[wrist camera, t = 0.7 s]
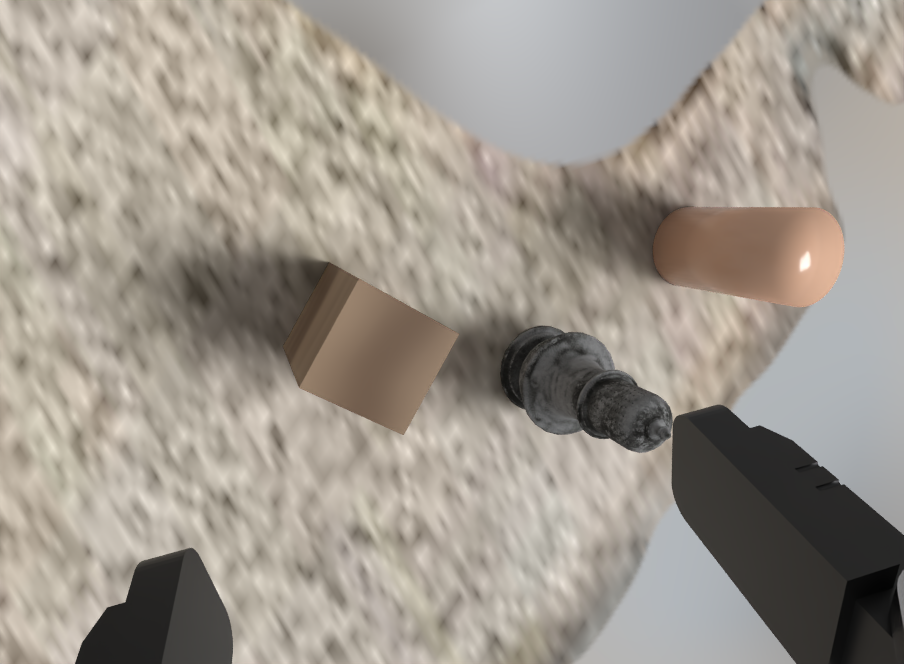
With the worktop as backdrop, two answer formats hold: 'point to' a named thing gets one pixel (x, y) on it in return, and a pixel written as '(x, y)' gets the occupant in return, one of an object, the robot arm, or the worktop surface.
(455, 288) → the worktop surface
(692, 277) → the terracotta canister
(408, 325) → the walnut block
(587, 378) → the dark grey turned piece
